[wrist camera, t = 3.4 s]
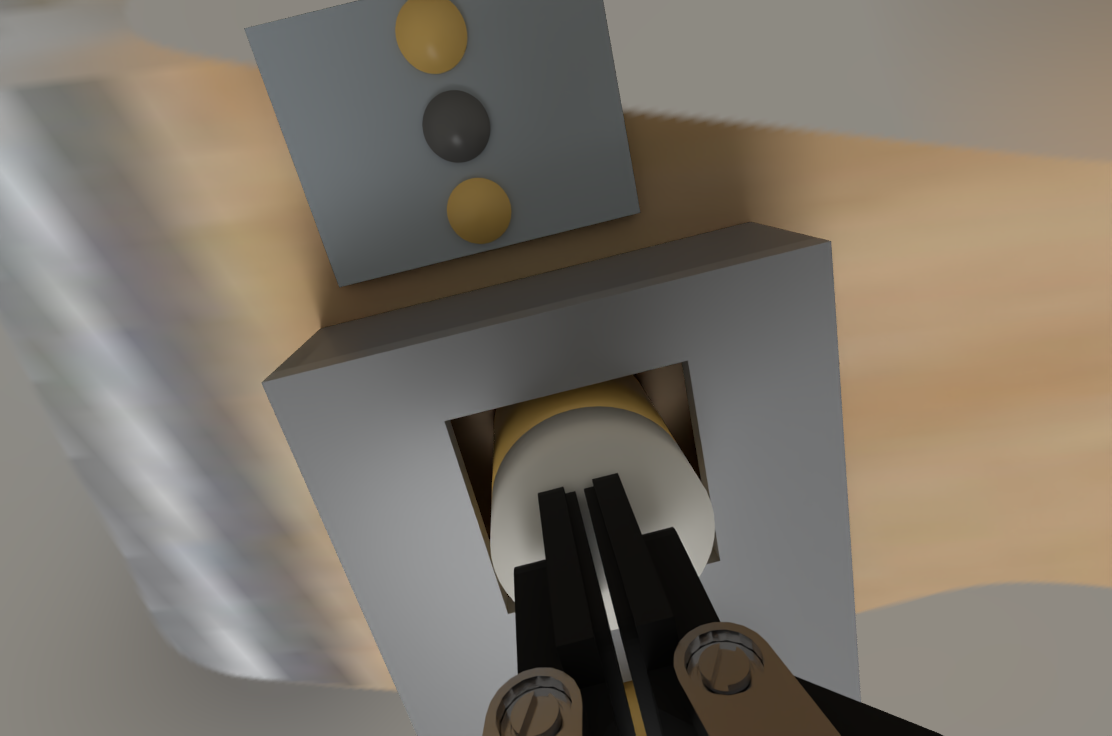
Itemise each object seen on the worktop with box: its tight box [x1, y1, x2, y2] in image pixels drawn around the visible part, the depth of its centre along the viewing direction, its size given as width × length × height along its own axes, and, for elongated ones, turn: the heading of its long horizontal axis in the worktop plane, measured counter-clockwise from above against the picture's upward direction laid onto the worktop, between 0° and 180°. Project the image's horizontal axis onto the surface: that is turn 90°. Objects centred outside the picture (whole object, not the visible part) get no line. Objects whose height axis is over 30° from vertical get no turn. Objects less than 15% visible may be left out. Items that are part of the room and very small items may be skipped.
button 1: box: [490, 374, 715, 630], centre depth 14 cm, size 5×5×6 cm
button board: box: [262, 222, 861, 736], centre depth 18 cm, size 12×26×4 cm, turn 13°
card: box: [244, 0, 640, 287], centre depth 14 cm, size 8×6×1 cm
